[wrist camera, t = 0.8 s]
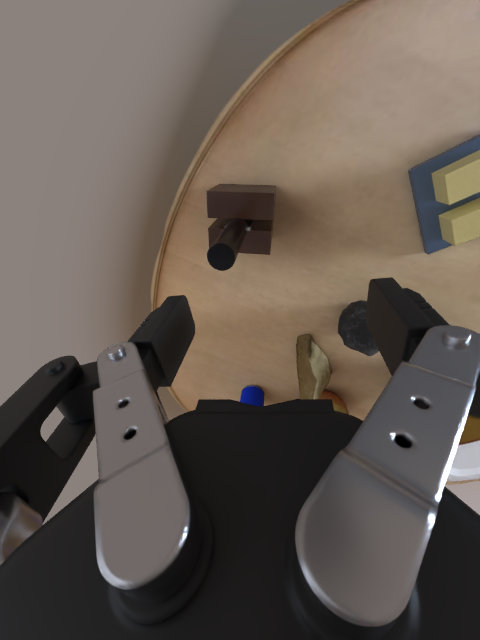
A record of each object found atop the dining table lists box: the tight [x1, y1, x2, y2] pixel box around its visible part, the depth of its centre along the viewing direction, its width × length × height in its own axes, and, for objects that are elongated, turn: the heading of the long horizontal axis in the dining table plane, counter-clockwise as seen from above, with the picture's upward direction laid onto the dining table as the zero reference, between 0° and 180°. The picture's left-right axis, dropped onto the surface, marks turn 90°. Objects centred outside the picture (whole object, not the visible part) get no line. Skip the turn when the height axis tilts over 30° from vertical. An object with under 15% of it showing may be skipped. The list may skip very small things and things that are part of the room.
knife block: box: [207, 184, 276, 255], centre depth 35 cm, size 7×8×8 cm
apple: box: [318, 390, 349, 414], centre depth 54 cm, size 10×10×8 cm
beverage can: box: [240, 385, 264, 406], centre depth 53 cm, size 5×5×15 cm
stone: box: [338, 301, 379, 356], centre depth 41 cm, size 8×8×10 cm
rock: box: [296, 334, 332, 399], centre depth 48 cm, size 11×9×10 cm
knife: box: [207, 218, 254, 271], centre depth 30 cm, size 2×3×20 cm
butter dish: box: [408, 134, 480, 254], centre depth 34 cm, size 12×9×1 cm
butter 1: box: [431, 150, 480, 205], centre depth 31 cm, size 4×5×3 cm
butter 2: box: [439, 198, 480, 246], centre depth 33 cm, size 4×5×3 cm
